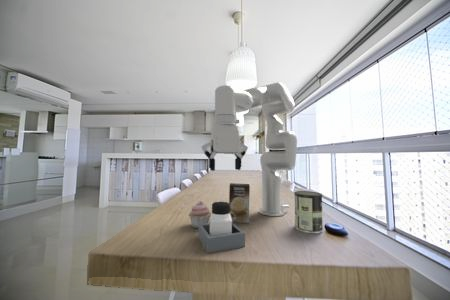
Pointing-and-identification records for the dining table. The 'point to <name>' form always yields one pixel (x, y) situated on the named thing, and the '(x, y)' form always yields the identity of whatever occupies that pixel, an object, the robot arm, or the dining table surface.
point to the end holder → (221, 239)
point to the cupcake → (199, 214)
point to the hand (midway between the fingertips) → (225, 169)
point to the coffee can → (308, 212)
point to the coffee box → (239, 202)
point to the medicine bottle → (220, 219)
